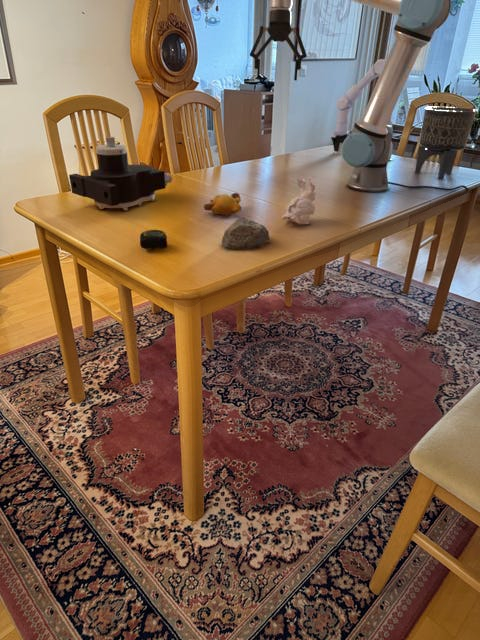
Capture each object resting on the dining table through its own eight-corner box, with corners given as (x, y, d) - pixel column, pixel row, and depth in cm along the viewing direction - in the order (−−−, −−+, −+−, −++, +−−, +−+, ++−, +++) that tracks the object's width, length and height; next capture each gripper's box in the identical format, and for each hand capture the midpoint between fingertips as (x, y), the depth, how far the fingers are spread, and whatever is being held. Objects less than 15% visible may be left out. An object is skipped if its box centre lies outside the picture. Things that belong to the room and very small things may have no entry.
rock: (255, 233, 128) (256, 211, 124) (276, 242, 122) (278, 219, 119) (217, 244, 120) (217, 220, 117) (239, 254, 115) (239, 230, 111)
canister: (333, 152, 243) (334, 142, 241) (342, 152, 243) (343, 142, 241) (334, 154, 239) (335, 144, 237) (343, 154, 239) (345, 144, 237)
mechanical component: (62, 136, 139) (140, 127, 159) (73, 204, 150) (145, 188, 170) (104, 145, 127) (182, 134, 147) (113, 218, 138) (185, 199, 158)
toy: (200, 206, 138) (209, 192, 151) (208, 225, 141) (216, 210, 154) (234, 195, 135) (241, 182, 148) (241, 215, 138) (247, 200, 151)
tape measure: (140, 252, 115) (139, 238, 113) (141, 242, 120) (140, 229, 119) (167, 251, 116) (166, 237, 114) (167, 241, 121) (166, 228, 120)
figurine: (321, 218, 142) (325, 177, 135) (298, 231, 131) (302, 187, 125) (298, 213, 146) (301, 173, 139) (274, 225, 135) (277, 182, 128)
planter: (406, 175, 197) (419, 108, 184) (419, 168, 211) (432, 105, 198) (453, 182, 187) (471, 112, 174) (463, 174, 201) (480, 109, 188)
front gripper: (315, 11, 158) (309, 80, 169) (244, 10, 158) (243, 78, 169) (318, 9, 151) (312, 81, 162) (243, 8, 152) (242, 79, 163)
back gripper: (343, 120, 241) (339, 147, 248) (327, 123, 232) (324, 151, 238) (354, 122, 237) (351, 149, 243) (339, 124, 227) (336, 152, 234)
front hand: (276, 80), depth 166 cm, fingers open, 13 cm apart
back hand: (338, 150), depth 241 cm, fingers closed on canister, 5 cm apart
